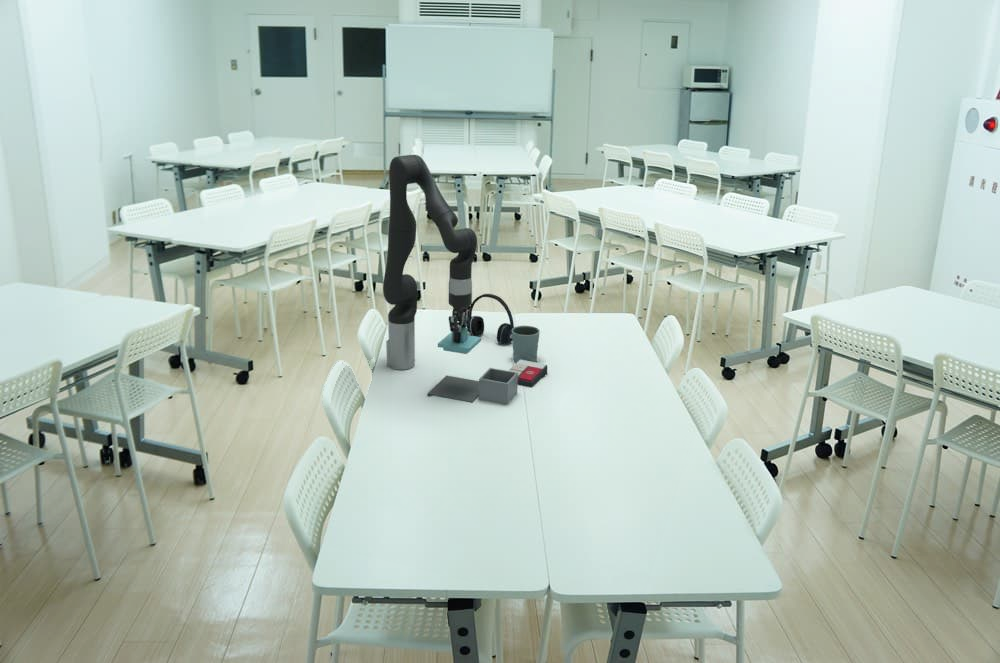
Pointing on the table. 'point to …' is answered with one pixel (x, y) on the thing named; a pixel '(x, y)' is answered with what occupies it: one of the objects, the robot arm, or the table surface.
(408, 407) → the table surface
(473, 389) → the mat
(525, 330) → the grey cup
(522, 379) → the calculator
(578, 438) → the table surface
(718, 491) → the table surface
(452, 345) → the lid
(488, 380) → the box
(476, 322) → the headphones
